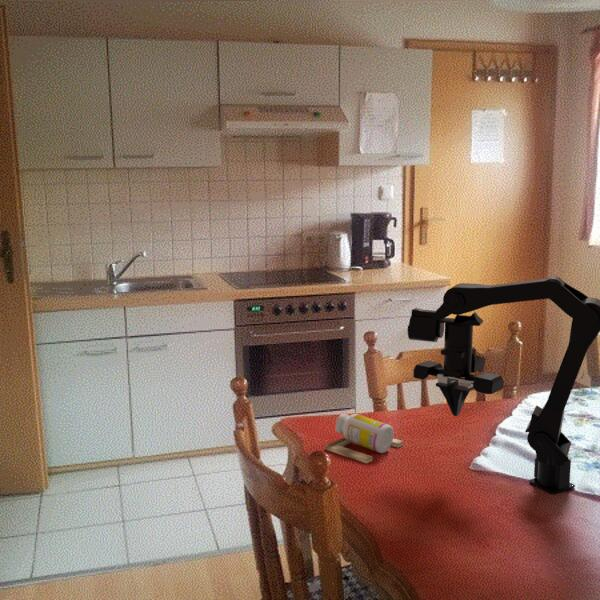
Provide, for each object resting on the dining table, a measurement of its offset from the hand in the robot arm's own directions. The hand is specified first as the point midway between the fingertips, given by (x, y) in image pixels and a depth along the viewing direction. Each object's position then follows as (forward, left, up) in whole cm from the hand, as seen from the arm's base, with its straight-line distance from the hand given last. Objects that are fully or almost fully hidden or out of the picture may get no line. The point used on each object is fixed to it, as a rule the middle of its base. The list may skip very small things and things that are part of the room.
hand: (456, 415), depth 152 cm
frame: (+18, +10, -12) cm, 24 cm away
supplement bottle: (+14, +8, -9) cm, 18 cm away
